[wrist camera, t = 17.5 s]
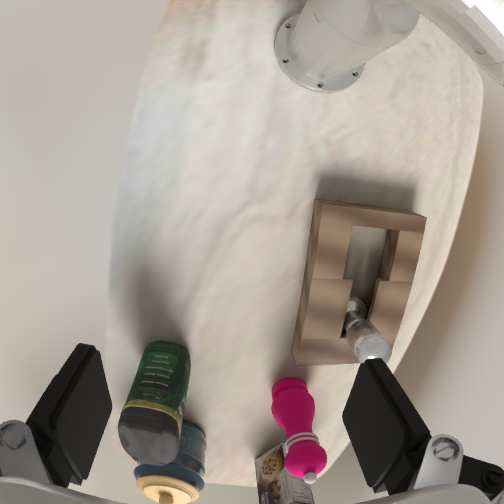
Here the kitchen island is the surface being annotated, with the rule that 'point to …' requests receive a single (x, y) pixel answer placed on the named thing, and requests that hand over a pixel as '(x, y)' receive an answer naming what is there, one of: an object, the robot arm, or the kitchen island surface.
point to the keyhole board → (339, 288)
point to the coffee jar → (156, 405)
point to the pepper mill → (298, 429)
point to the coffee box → (279, 480)
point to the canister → (176, 471)
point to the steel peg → (363, 333)
